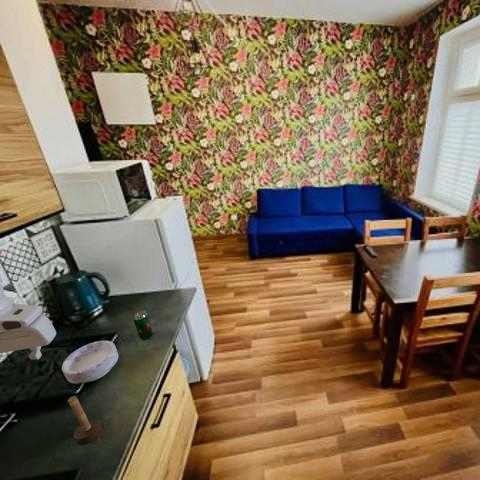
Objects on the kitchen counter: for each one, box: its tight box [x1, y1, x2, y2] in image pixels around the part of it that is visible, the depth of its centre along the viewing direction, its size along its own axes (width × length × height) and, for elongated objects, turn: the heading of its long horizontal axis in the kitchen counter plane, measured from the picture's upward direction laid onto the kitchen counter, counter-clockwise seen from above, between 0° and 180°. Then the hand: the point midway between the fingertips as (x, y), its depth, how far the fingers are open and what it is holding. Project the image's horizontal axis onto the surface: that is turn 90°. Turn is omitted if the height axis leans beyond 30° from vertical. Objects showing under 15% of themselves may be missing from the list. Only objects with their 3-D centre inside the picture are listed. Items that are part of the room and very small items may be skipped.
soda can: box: [132, 310, 154, 341], centre depth 114 cm, size 5×5×12 cm
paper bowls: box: [61, 340, 119, 385], centre depth 98 cm, size 15×15×8 cm
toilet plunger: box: [67, 395, 104, 446], centre depth 76 cm, size 6×6×15 cm
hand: (14, 362), depth 70 cm, fingers open, 8 cm apart
